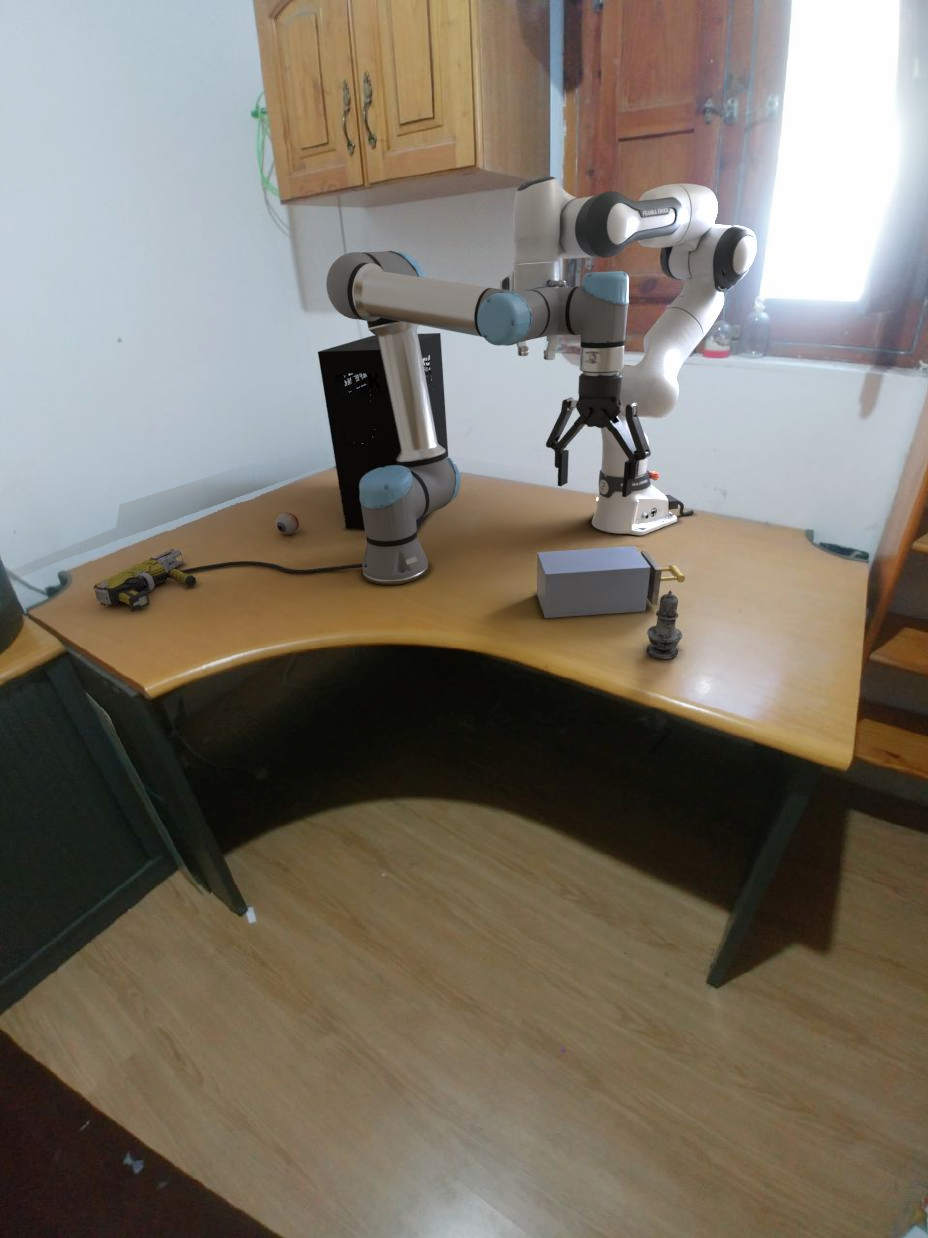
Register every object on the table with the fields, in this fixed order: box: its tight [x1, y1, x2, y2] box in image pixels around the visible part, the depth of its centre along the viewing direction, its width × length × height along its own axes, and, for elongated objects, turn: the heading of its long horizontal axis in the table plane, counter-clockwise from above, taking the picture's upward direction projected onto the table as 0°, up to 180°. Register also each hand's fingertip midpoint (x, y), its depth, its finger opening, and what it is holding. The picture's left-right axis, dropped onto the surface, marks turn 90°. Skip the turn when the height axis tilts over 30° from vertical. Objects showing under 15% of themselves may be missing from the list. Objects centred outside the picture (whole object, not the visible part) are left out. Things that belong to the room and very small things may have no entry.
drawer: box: [640, 550, 686, 606], centre depth 121 cm, size 24×9×8 cm, turn 93°
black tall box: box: [317, 332, 449, 530], centre depth 169 cm, size 38×20×45 cm, turn 167°
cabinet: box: [536, 545, 651, 619], centre depth 121 cm, size 20×10×10 cm, turn 93°
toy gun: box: [93, 548, 197, 612], centre depth 139 cm, size 5×24×15 cm
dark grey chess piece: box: [646, 589, 683, 660], centre depth 104 cm, size 6×6×12 cm
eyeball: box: [275, 511, 300, 536], centre depth 163 cm, size 6×6×6 cm
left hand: (593, 489), depth 117 cm, fingers open, 13 cm apart
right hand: (535, 357), depth 124 cm, fingers open, 8 cm apart
